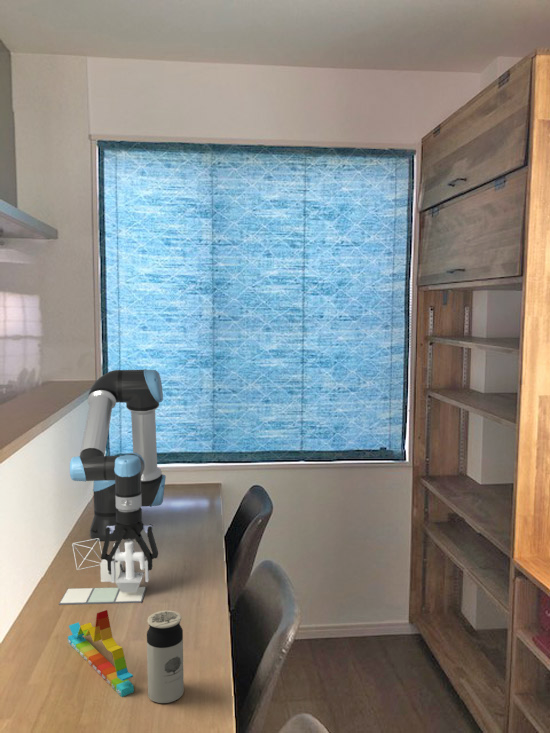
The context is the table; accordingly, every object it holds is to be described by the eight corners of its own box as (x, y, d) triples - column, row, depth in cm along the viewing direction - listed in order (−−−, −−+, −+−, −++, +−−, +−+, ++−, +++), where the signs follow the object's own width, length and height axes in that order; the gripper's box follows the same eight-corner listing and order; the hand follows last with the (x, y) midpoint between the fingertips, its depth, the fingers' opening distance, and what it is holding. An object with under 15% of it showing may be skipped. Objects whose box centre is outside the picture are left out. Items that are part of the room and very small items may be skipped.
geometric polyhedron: (107, 559, 224) (106, 537, 223) (100, 570, 215) (99, 547, 214) (76, 559, 224) (76, 538, 223) (69, 570, 215) (68, 548, 214)
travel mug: (144, 688, 150) (142, 613, 148) (178, 680, 153) (177, 606, 151) (152, 708, 143) (151, 629, 141) (187, 699, 146) (186, 622, 144)
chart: (67, 643, 170) (65, 588, 168) (79, 639, 172) (77, 584, 170) (120, 698, 146) (119, 635, 145) (133, 693, 148) (132, 630, 147)
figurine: (143, 594, 193) (142, 545, 191) (111, 594, 193) (110, 545, 191) (148, 583, 200) (147, 536, 198) (117, 583, 200) (116, 536, 198)
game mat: (67, 589, 200) (67, 588, 200) (146, 587, 202) (146, 586, 202) (58, 604, 190) (58, 603, 190) (141, 602, 192) (141, 601, 192)
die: (104, 574, 212) (104, 555, 211) (124, 573, 212) (124, 554, 211) (100, 582, 205) (100, 563, 205) (121, 582, 206) (120, 562, 205)
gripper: (88, 512, 189) (90, 586, 192) (164, 511, 191) (166, 585, 193) (94, 504, 197) (96, 576, 199) (167, 503, 198) (168, 574, 200)
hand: (130, 580), depth 196 cm, fingers closed on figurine, 9 cm apart
